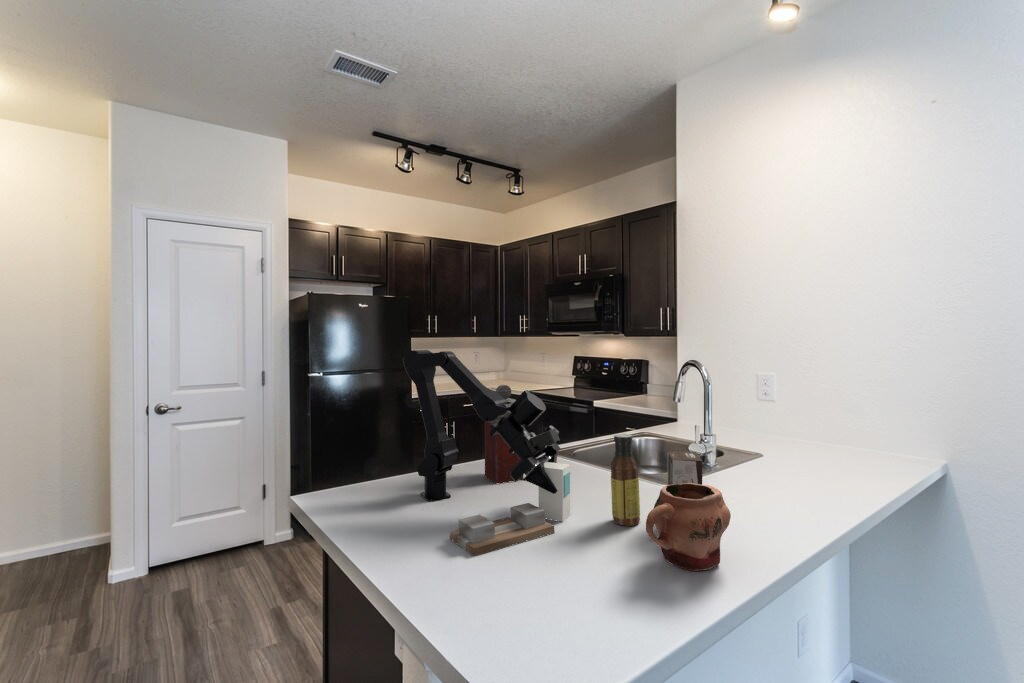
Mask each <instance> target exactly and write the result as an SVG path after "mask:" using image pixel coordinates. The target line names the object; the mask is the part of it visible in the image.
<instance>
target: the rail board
mask: <svg viewBox="0 0 1024 683" xmlns="http://www.w3.org/2000/svg"><path fill="white" fill-rule="evenodd" d="M509 511H510V512H509V513H510V514H509V515H510V516H508V517H504V518H500V519H496V520H490V519H488V518H487V517H484V516H483V515H481V514H475V515H471V516H467V517H464V518H459V519H458V529H457V530H451V531H450V532H449V539H450V540H451V541H452V540H453V541H454V543H455V544H456V543H457V546H459V545H460V546H461V547H460V546H459V547H460V548H462V547H463V548H464V549H463V548H462V549H463V550H465V551H466V552H467V551H468V553H469V554H470V555H472V556H473V557H477V556H479V555H483V553H484V554H487V553H490V552H494V551H497V550H500V549H499V548H501V549H504V548H507V547H506V546H508V547H510V546H509V545H511V546H513V545H512V544H515V545H517V544H516V543H518V544H521V543H524V541H525V542H527V541H526V540H528V541H532V540H534V538H535V539H538V538H537V537H539V538H541V537H540V536H542V537H544V536H543V535H545V536H547V534H549V535H551V534H550V533H552V534H554V533H555V525H554V524H551V523H550V522H547V521H546V519H545V510H543V509H541V508H539V506H537V505H534V504H532V503H529V502H526V503H522V504H518V505H514V506H511V507H510V510H509ZM531 539H532V540H531ZM453 541H452V542H453ZM520 542H521V543H520ZM503 547H504V548H503ZM496 549H497V550H496ZM493 550H494V551H493ZM486 552H487V553H486Z"/></svg>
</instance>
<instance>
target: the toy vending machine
mask: <svg viewBox="0 0 1024 683" xmlns="http://www.w3.org/2000/svg"><path fill="white" fill-rule="evenodd" d="M495 392H496V393H498V394H499V395H500V396H502V397H503V398H504V399H505V400H506V401H508V402H513V403H514V402H515V401H516V400H517V399H515V398H510V397H511V396H512V389H511V387H510V385H506V384H499V385H498V386H497V387H496V389H495ZM510 414H511V413H508V414H505V416H503V417H506V418H507V417H508V416H509V415H510ZM503 417H502V418H503ZM500 420H501V418H499V419H496V420H493V421H484V477H485V476H486V477H487V478H486V477H485V478H486V479H488V478H489V479H490V481H491V480H492V481H493V483H494V482H495V483H500V484H504V483H503V482H507V483H510V482H509V481H514V480H513V479H512V478H511V476H510V470H511V469H512V468H513V467H514V466H515V465H516V464H517V463H518V462H519V461H520V459H519V458H518V457H517V455H516V454H515V453H512V454H511V453H510V452H509V450H510V449H511V448H510V447H509V446H508V444H507V443H506V442H505V441H504V439H503V438H502V437H501V436H500V435H499V433H498V434H497V435H494V436H490V435H489V434H490V425H492V424H497V423H498V422H499V421H500ZM522 426H523V427H524V425H522ZM489 479H488V480H489ZM523 479H524V474H523V475H522V478H521V479H520V480H521V481H523ZM492 481H491V482H492ZM514 482H515V481H514ZM495 483H494V484H495Z"/></svg>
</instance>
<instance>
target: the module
mask: <svg viewBox="0 0 1024 683" xmlns="http://www.w3.org/2000/svg"><path fill="white" fill-rule="evenodd" d="M544 470H545V472H546V474H547V475H548V477H549V478H550V480H551V481H552V483H553V484H554V486H555V487H556V489H557V492H556V493H555V494H553V493H551V492H549V491H547V490H545V489H543V488H541V487H539V486H538V507H539V508H541V509H543V510H545V518H547V519H546V520H548V519H552V520H551V521H553V520H557V521H556V522H559V521H563V522H565V521H566V520H567V519H568V518H569V517H570V516H571V464H569V463H568V464H567V463H559V462H557V463H552V462H546V463H544ZM569 515H570V516H569ZM568 516H569V517H568ZM567 517H568V518H567ZM566 518H567V519H566ZM565 519H566V520H565ZM564 520H565V521H564Z"/></svg>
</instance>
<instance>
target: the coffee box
mask: <svg viewBox="0 0 1024 683" xmlns="http://www.w3.org/2000/svg"><path fill="white" fill-rule="evenodd" d="M666 460H667V462H666V463H667V464H666V465H667V469H666V470H667V485H673V484H684V483H693V484H700V485H703V459H702V458H701V457H700V456H699V455H698V453H696V451H681V450H680V451H679V450H678V451H677V450H676V451H674V450H672V451H669V450H668V451H667V459H666Z"/></svg>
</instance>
